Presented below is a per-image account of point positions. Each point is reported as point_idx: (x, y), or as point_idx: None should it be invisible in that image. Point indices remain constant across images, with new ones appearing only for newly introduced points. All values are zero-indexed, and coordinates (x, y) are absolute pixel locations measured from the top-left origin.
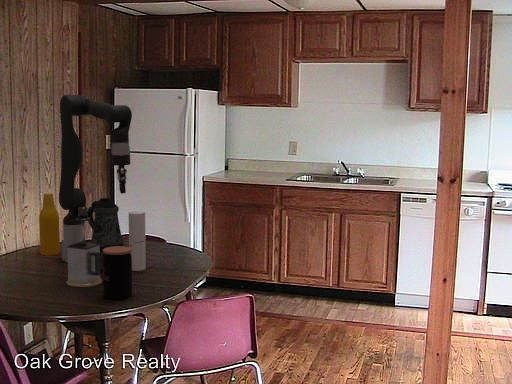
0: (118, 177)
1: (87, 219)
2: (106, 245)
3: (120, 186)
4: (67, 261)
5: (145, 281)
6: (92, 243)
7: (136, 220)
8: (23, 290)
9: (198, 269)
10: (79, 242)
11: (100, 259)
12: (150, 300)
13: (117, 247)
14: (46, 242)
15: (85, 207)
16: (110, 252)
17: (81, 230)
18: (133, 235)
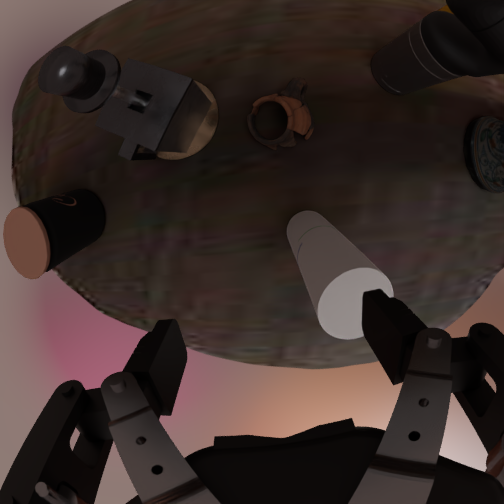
0: (111, 434)
1: (70, 108)
2: (472, 150)
3: (139, 362)
4: (374, 55)
5: (185, 259)
6: (163, 123)
7: (311, 293)
8: (127, 25)
9: (287, 356)
10: (402, 70)
11: (303, 134)
12: (73, 275)
13: (35, 242)
14: None
15: (55, 81)
16: (3, 233)
17: (427, 68)
18: (303, 255)
